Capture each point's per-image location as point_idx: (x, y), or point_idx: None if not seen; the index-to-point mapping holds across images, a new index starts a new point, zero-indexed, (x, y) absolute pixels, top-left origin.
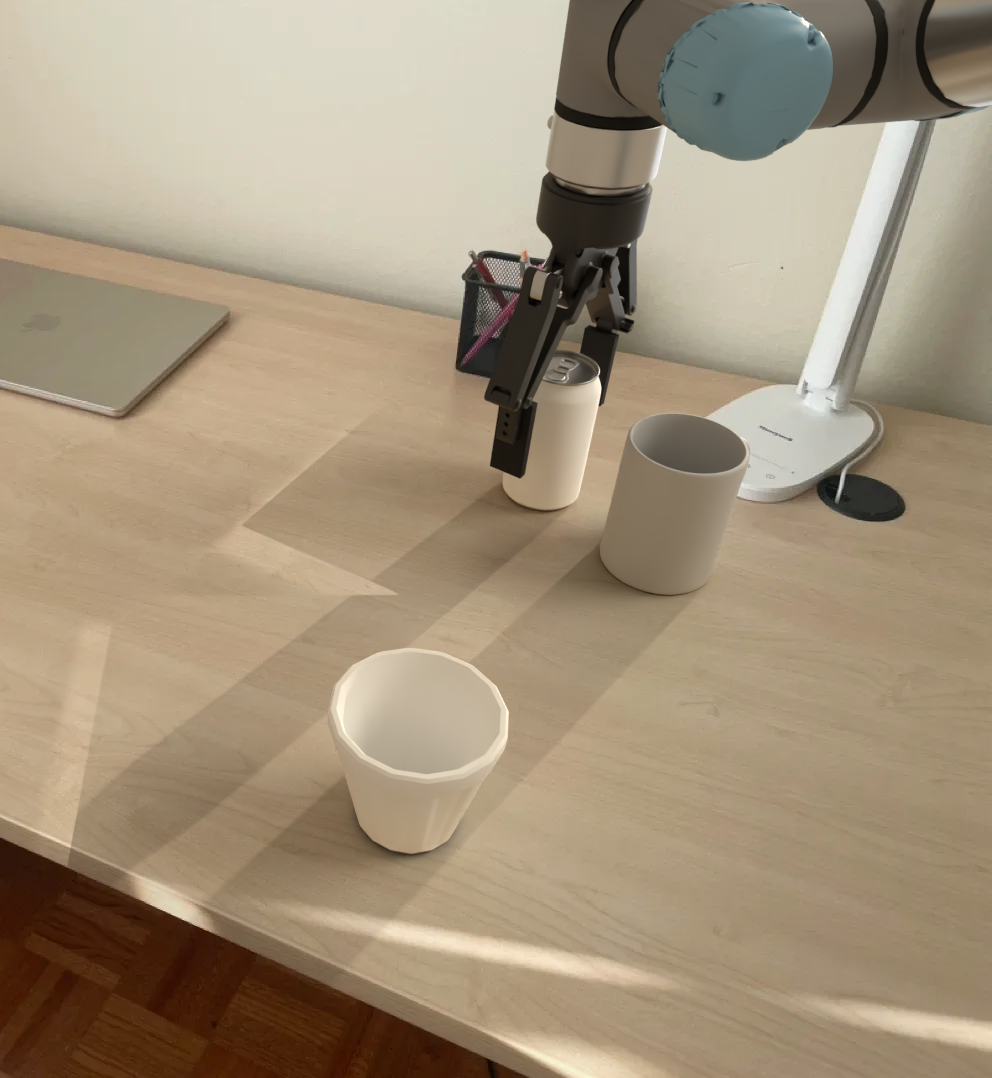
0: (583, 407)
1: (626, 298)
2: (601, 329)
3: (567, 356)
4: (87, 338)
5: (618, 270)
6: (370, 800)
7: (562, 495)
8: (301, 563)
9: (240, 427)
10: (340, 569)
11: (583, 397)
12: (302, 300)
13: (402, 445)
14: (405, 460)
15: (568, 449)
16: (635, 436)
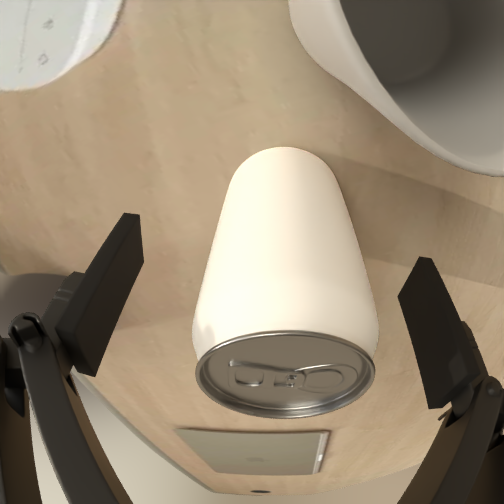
0: (355, 285)
1: (1, 395)
2: (69, 355)
3: (215, 380)
4: (257, 451)
5: (20, 497)
6: None
7: (328, 171)
8: None
9: None
10: (473, 304)
11: (353, 308)
12: (128, 409)
13: None
14: None
15: (347, 225)
16: (451, 140)
